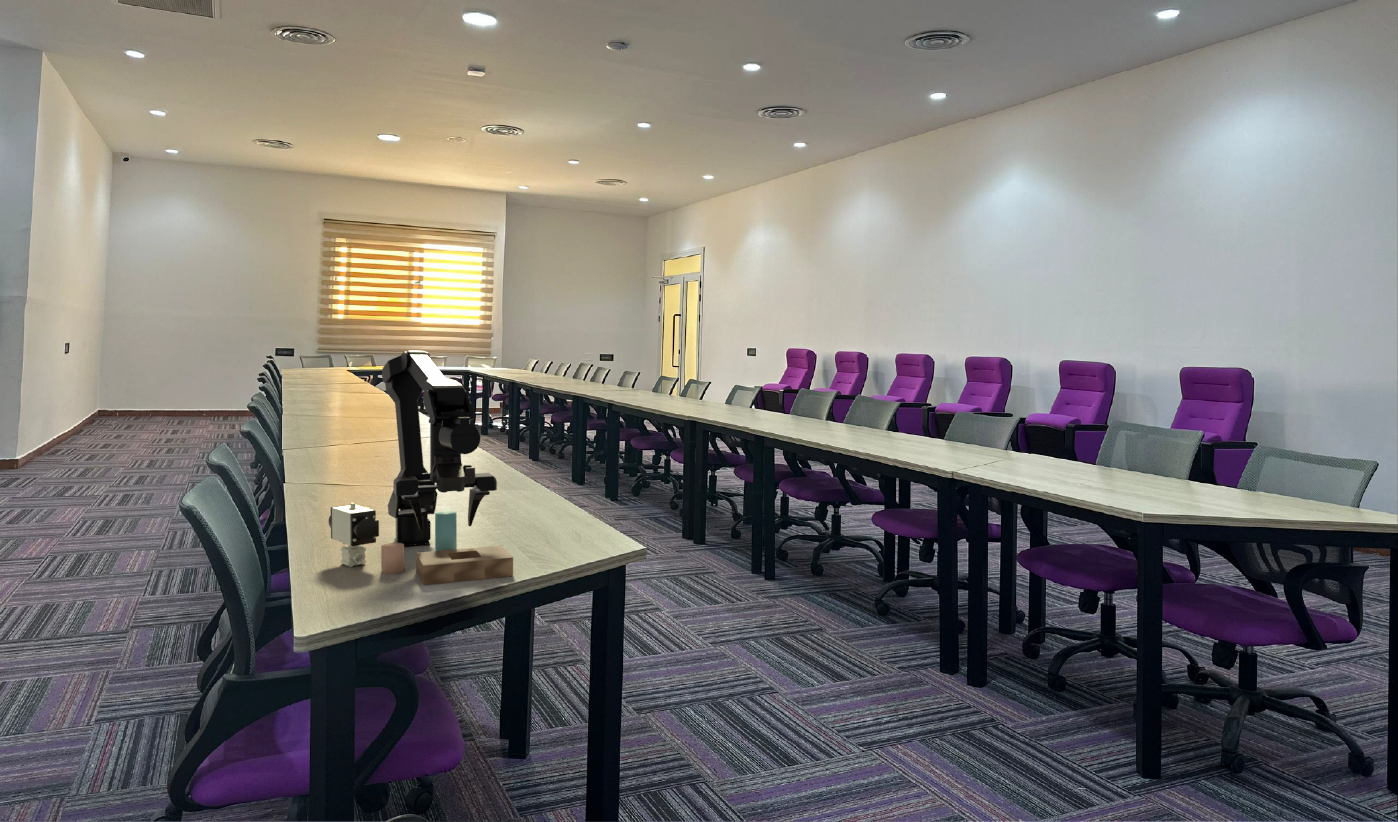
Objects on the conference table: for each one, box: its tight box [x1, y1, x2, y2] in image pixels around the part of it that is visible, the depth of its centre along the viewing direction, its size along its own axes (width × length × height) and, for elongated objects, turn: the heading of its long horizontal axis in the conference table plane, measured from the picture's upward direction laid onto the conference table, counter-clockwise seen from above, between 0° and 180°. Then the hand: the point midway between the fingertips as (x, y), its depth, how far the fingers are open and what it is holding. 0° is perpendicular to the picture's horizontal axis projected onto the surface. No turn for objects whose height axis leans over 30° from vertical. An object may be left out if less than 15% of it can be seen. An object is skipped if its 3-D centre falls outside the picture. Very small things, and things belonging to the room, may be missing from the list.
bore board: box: [415, 545, 514, 586], centre depth 154 cm, size 16×10×4 cm, turn 116°
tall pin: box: [434, 510, 458, 551], centre depth 161 cm, size 4×4×10 cm
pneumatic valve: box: [328, 502, 380, 568], centre depth 159 cm, size 6×12×12 cm, turn 48°
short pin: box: [380, 542, 405, 575], centre depth 155 cm, size 4×4×5 cm
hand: (445, 527), depth 161 cm, fingers open, 9 cm apart
